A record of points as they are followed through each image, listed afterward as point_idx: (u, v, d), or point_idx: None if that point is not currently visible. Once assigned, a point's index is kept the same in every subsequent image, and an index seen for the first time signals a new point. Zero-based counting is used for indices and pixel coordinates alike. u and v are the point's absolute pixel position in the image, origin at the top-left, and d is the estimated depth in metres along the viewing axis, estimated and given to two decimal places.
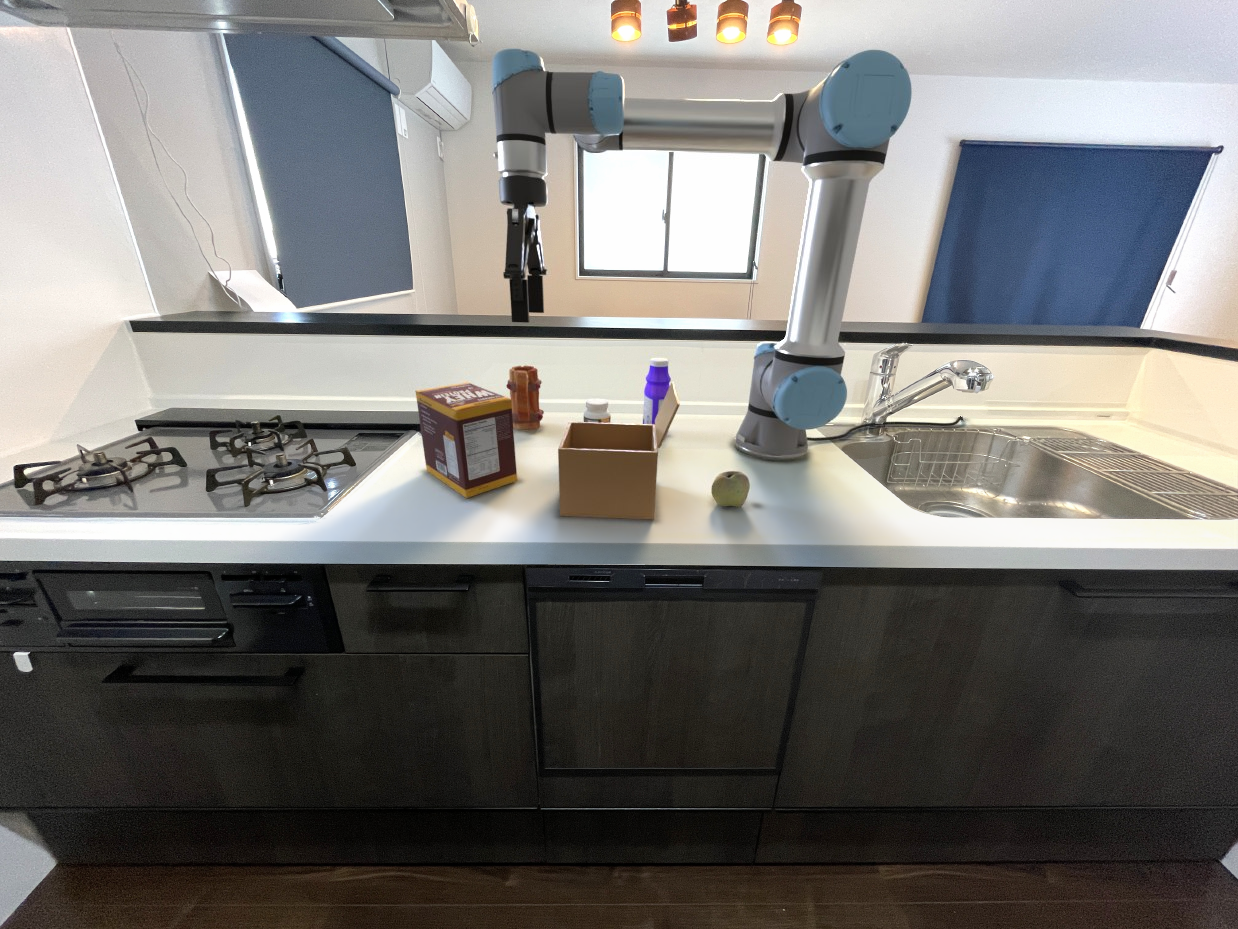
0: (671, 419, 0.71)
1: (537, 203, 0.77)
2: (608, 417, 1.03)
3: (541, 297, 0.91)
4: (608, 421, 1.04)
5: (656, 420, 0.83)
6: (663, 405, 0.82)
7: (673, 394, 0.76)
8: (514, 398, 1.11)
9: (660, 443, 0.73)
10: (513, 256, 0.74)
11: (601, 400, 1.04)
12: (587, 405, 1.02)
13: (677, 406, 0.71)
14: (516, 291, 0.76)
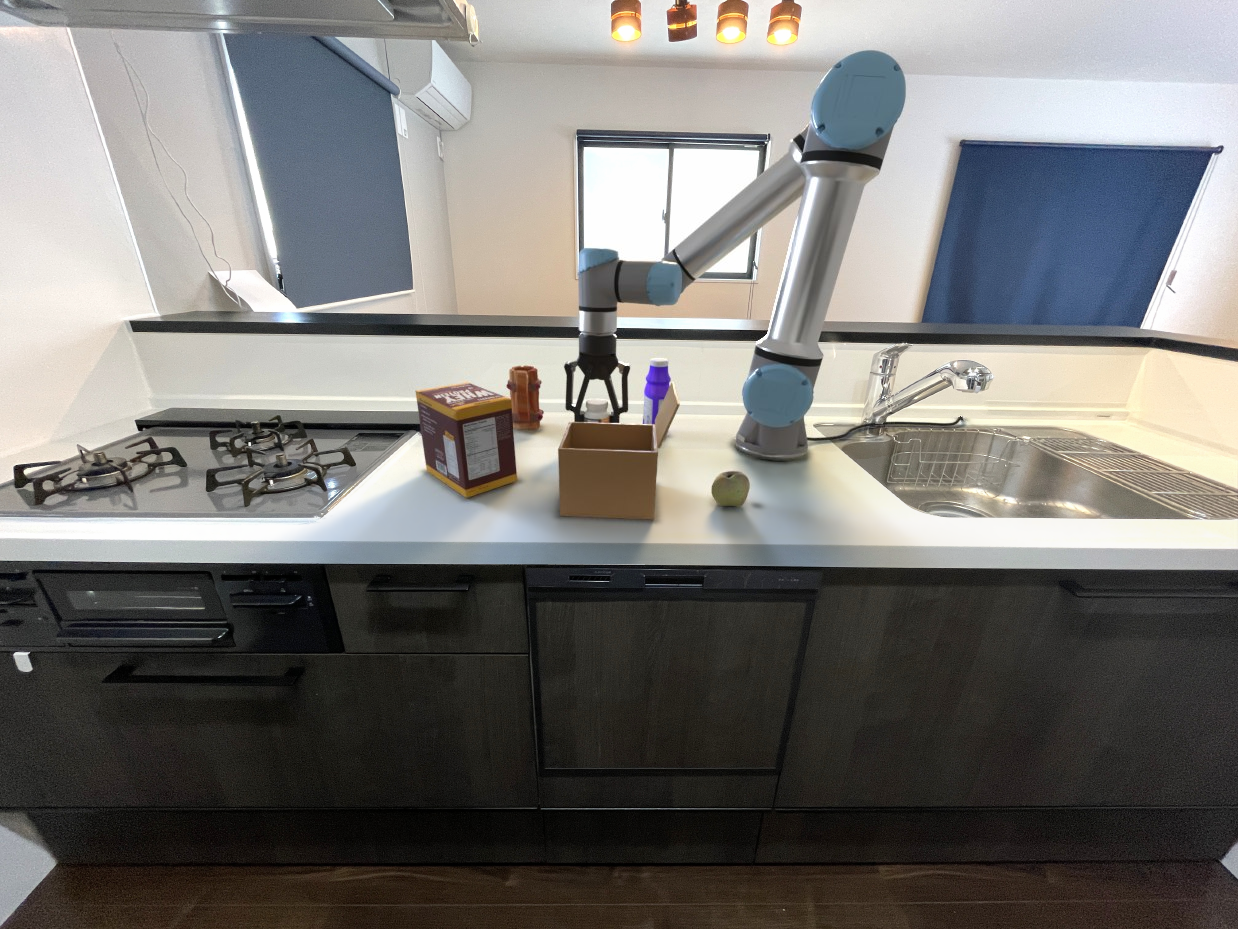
0: (671, 419, 0.71)
1: (585, 354, 0.97)
2: (608, 417, 1.03)
3: None
4: (608, 421, 1.04)
5: (656, 420, 0.83)
6: (663, 405, 0.82)
7: (673, 394, 0.76)
8: (514, 398, 1.11)
9: (660, 443, 0.73)
10: None
11: (601, 400, 1.04)
12: (587, 405, 1.02)
13: (677, 406, 0.71)
14: None
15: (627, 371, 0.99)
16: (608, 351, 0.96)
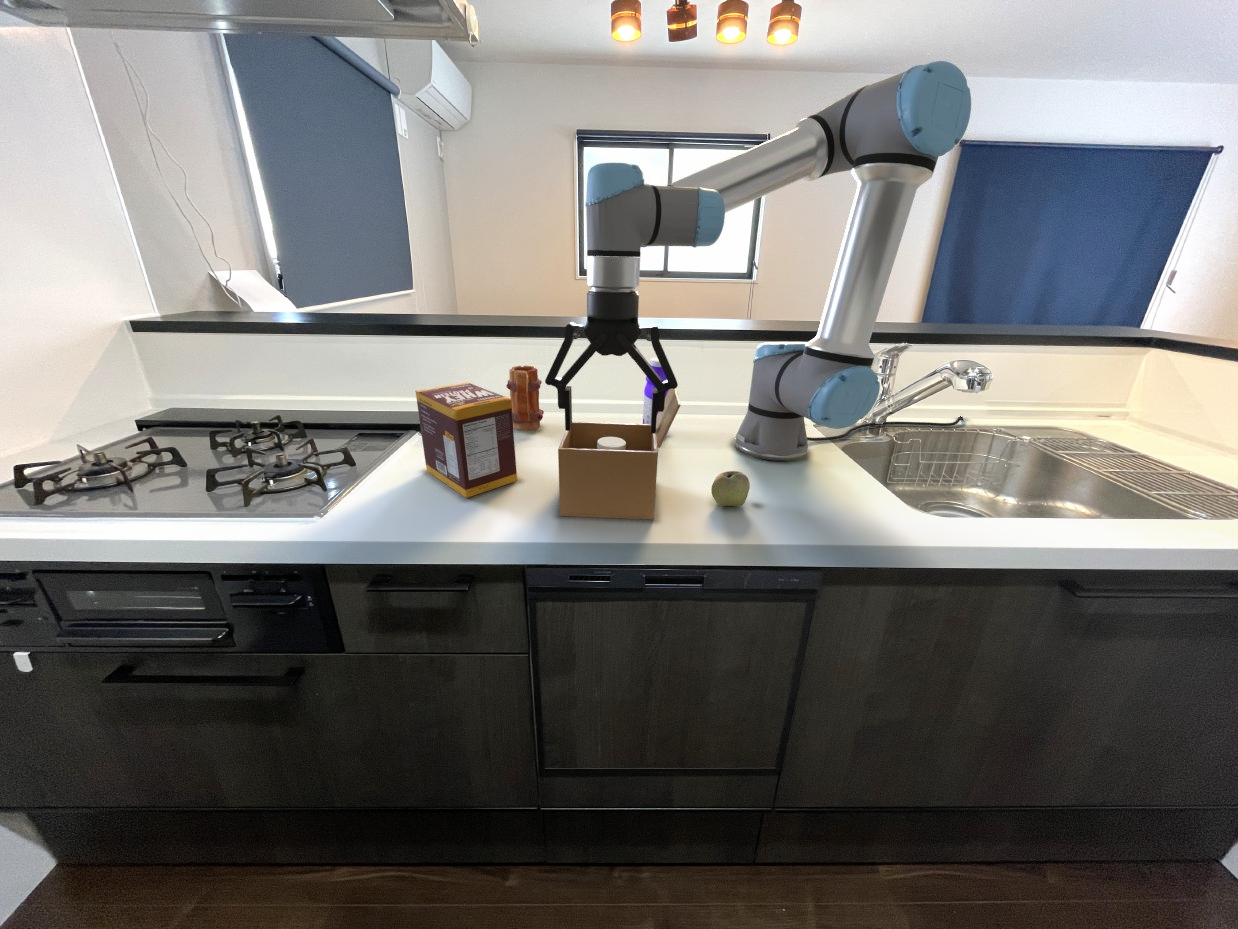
0: (672, 419, 0.71)
1: (595, 318, 0.70)
2: None
3: (651, 416, 0.77)
4: None
5: (656, 420, 0.83)
6: None
7: (674, 394, 0.76)
8: (514, 398, 1.11)
9: (660, 443, 0.73)
10: None
11: (616, 440, 0.80)
12: (599, 447, 0.79)
13: (678, 406, 0.71)
14: None
15: (656, 334, 0.72)
16: (628, 314, 0.69)
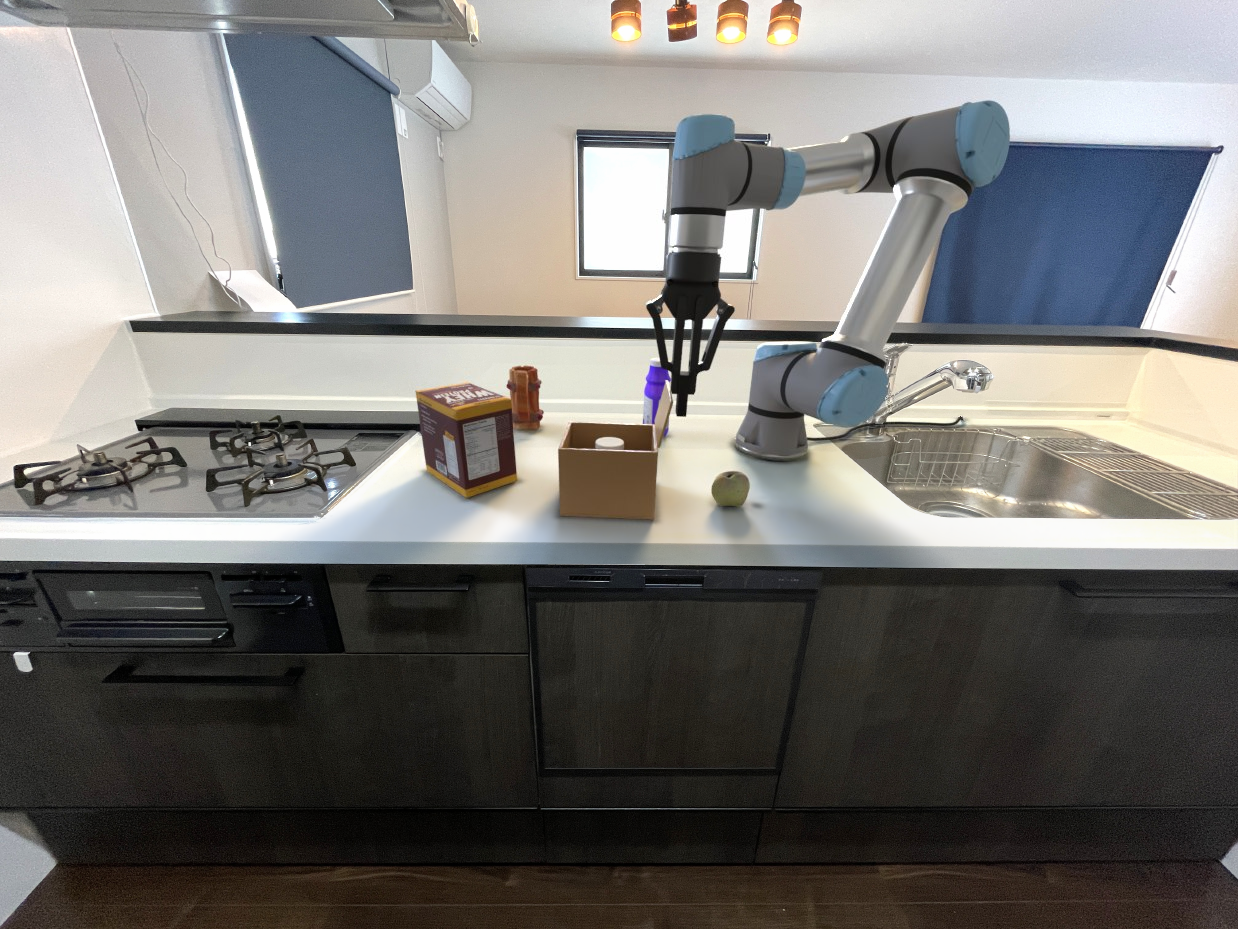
0: (667, 418, 0.71)
1: (677, 280, 0.67)
2: None
3: None
4: None
5: (655, 420, 0.83)
6: (660, 404, 0.82)
7: (667, 392, 0.76)
8: (514, 398, 1.11)
9: (659, 443, 0.73)
10: (658, 352, 0.74)
11: (615, 440, 0.81)
12: (597, 447, 0.79)
13: (671, 404, 0.70)
14: None
15: (729, 314, 0.70)
16: (712, 276, 0.67)
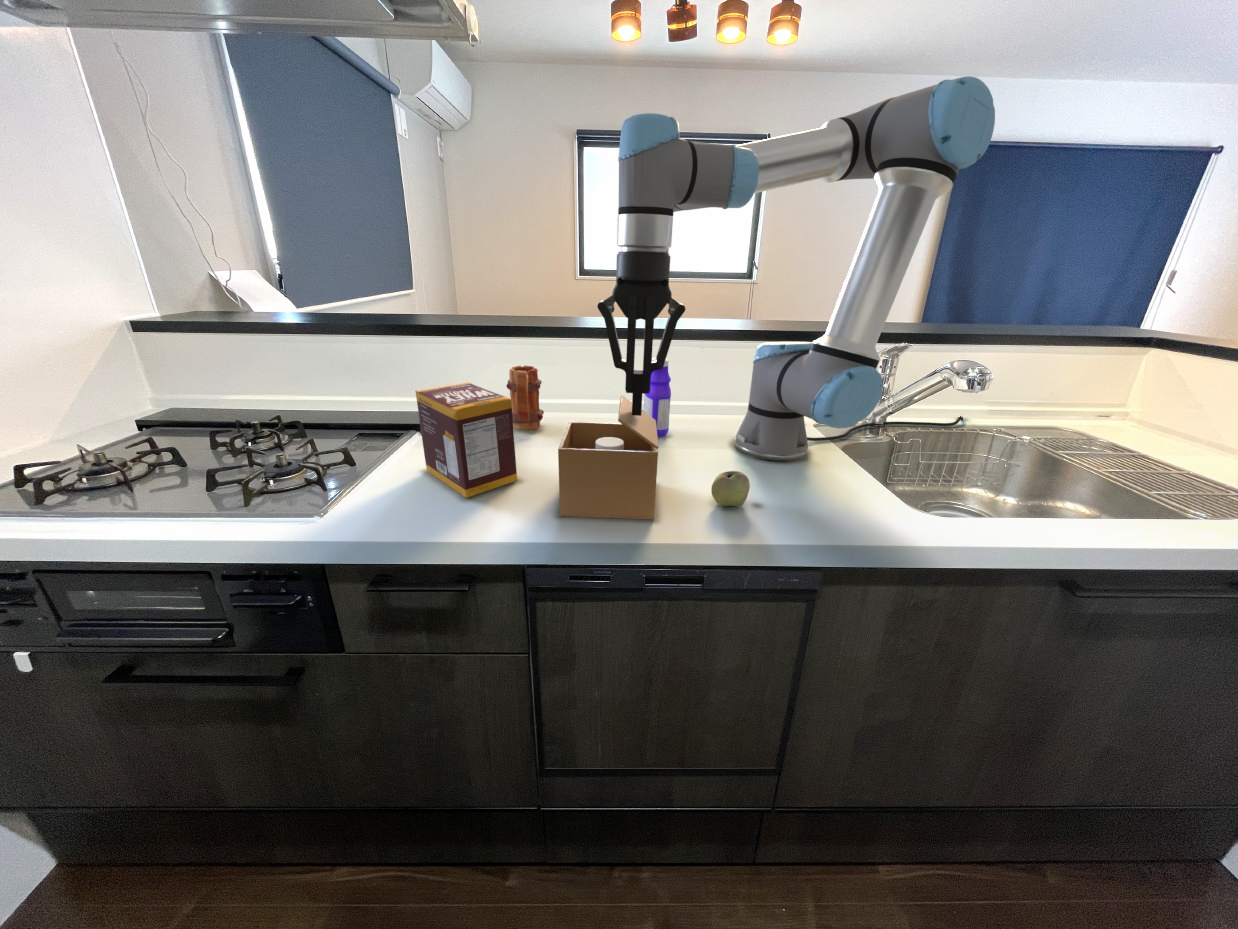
0: (632, 429, 0.72)
1: (626, 279, 0.68)
2: None
3: None
4: None
5: None
6: None
7: None
8: (514, 398, 1.11)
9: (653, 445, 0.73)
10: None
11: (615, 440, 0.81)
12: (597, 447, 0.79)
13: (620, 421, 0.72)
14: None
15: (680, 313, 0.70)
16: (660, 275, 0.67)
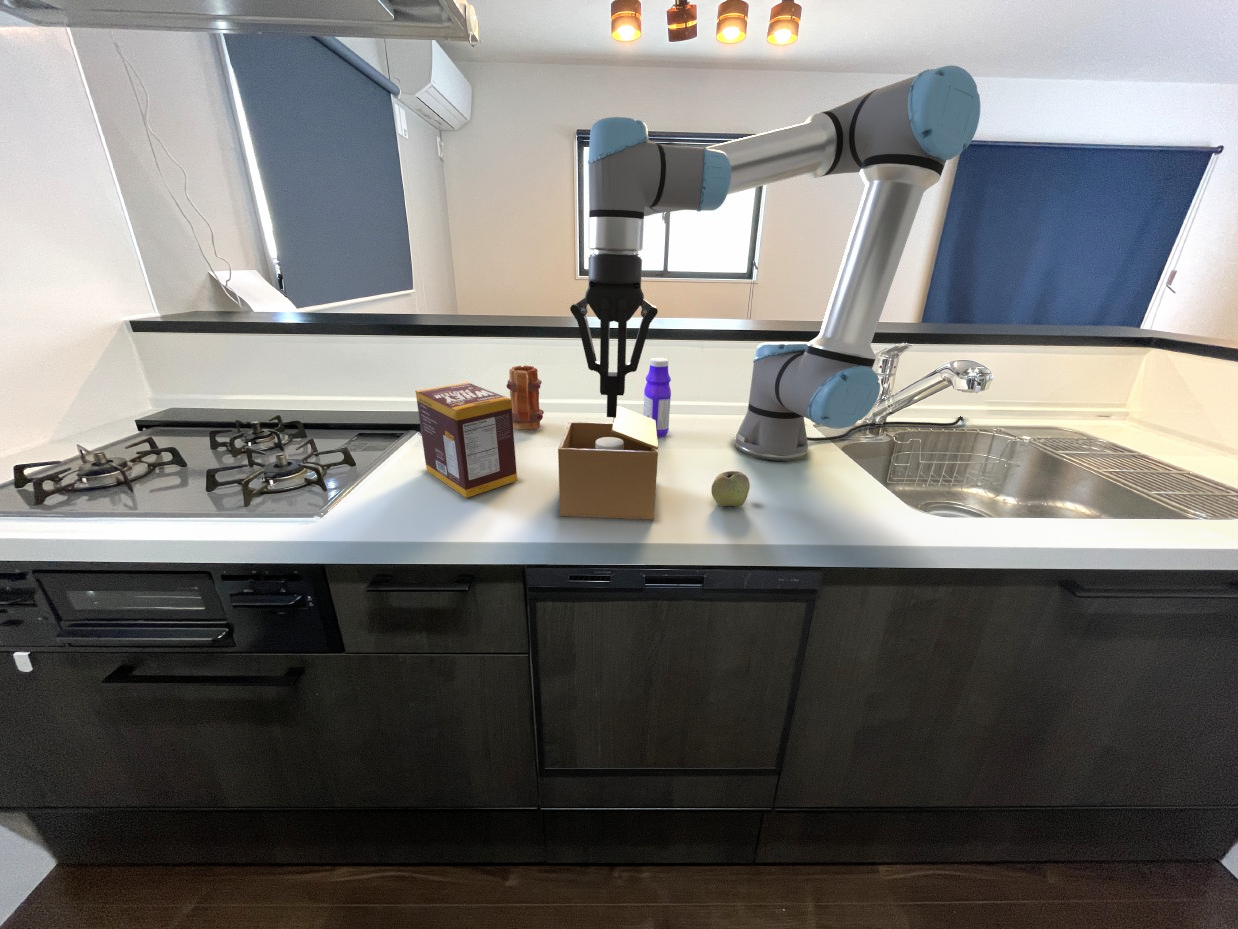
0: (627, 437, 0.73)
1: (597, 282, 0.68)
2: None
3: None
4: None
5: None
6: None
7: None
8: (514, 398, 1.11)
9: (652, 446, 0.73)
10: None
11: (615, 440, 0.81)
12: (597, 447, 0.79)
13: (614, 431, 0.72)
14: None
15: (652, 315, 0.71)
16: (631, 278, 0.67)
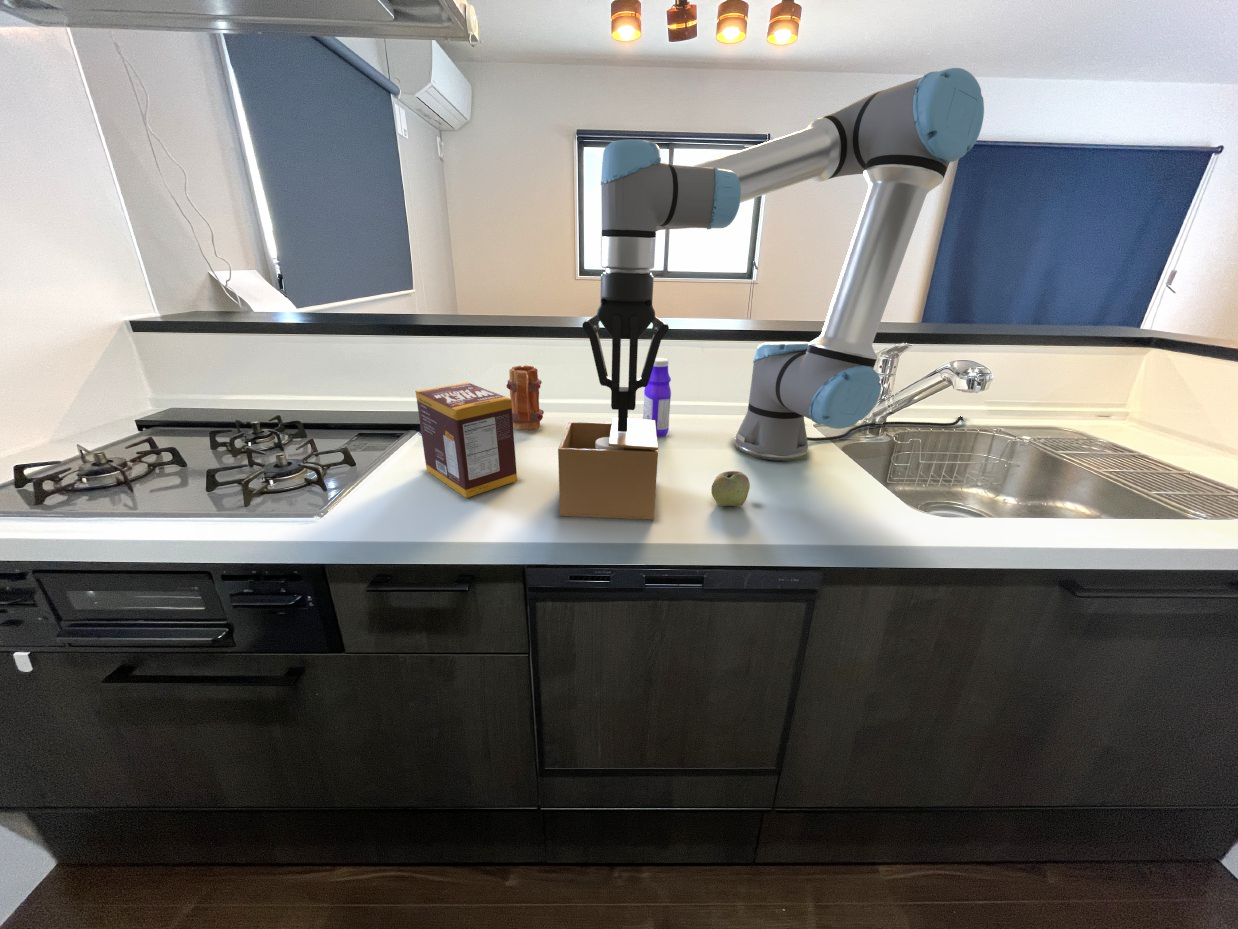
0: (625, 446, 0.73)
1: (609, 300, 0.69)
2: None
3: None
4: None
5: None
6: None
7: None
8: (514, 398, 1.11)
9: (652, 448, 0.73)
10: None
11: None
12: (597, 447, 0.79)
13: (611, 445, 0.73)
14: None
15: (663, 332, 0.72)
16: (643, 296, 0.68)
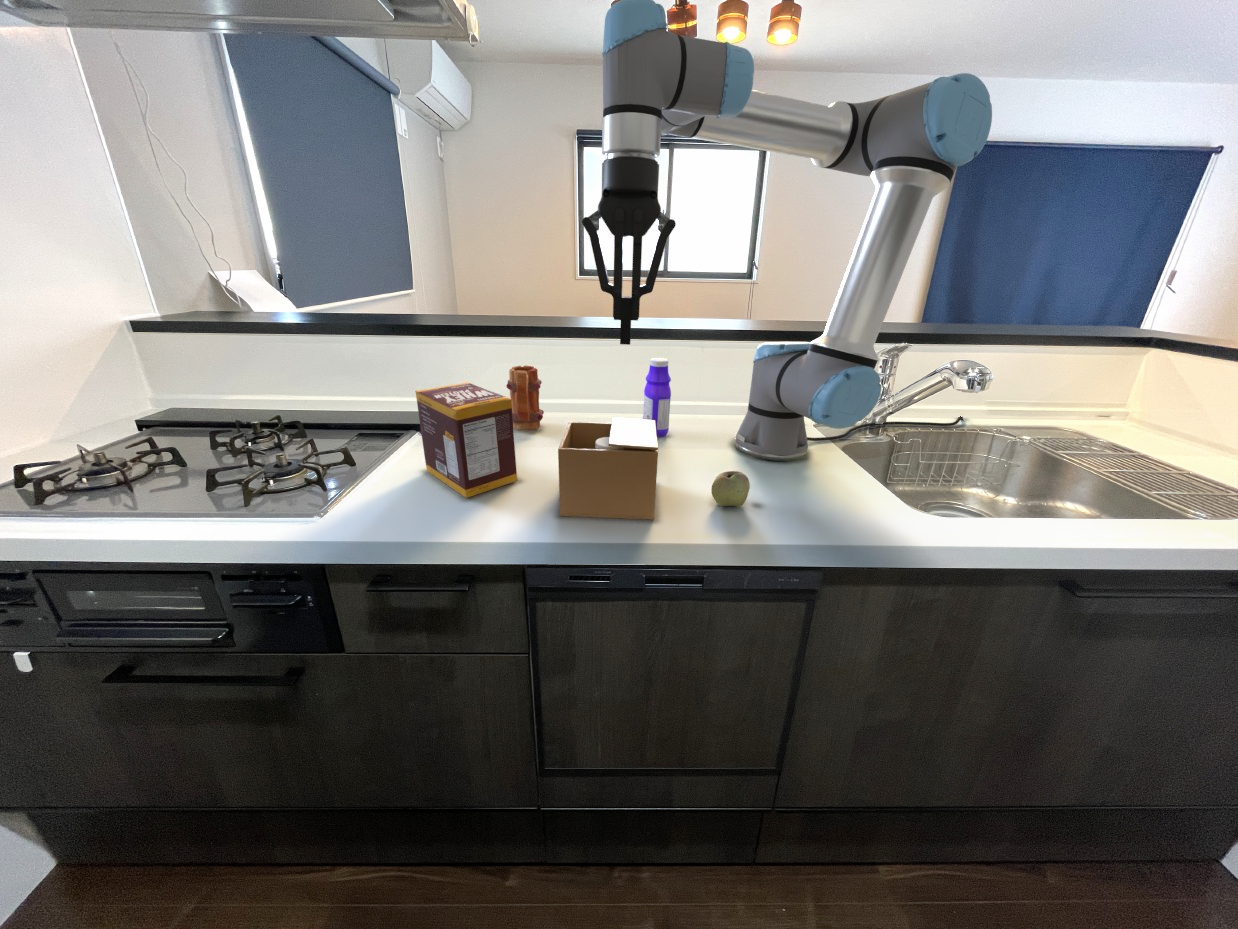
0: (625, 446, 0.73)
1: (612, 189, 0.63)
2: None
3: None
4: None
5: None
6: None
7: None
8: (514, 398, 1.11)
9: (652, 448, 0.73)
10: None
11: None
12: (597, 447, 0.79)
13: (611, 445, 0.73)
14: None
15: (670, 228, 0.66)
16: (648, 184, 0.63)
